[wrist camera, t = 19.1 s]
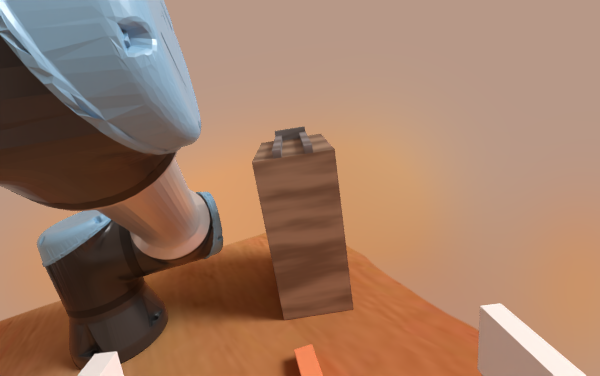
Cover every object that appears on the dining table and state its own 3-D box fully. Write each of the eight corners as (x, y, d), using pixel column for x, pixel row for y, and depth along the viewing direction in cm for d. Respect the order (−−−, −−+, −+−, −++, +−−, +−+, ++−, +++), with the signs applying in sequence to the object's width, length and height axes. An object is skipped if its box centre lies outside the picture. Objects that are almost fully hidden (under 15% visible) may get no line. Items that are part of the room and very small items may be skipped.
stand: (353, 309, 51) (332, 135, 42) (284, 320, 51) (249, 148, 42) (336, 255, 69) (319, 123, 60) (284, 263, 69) (259, 133, 60)
